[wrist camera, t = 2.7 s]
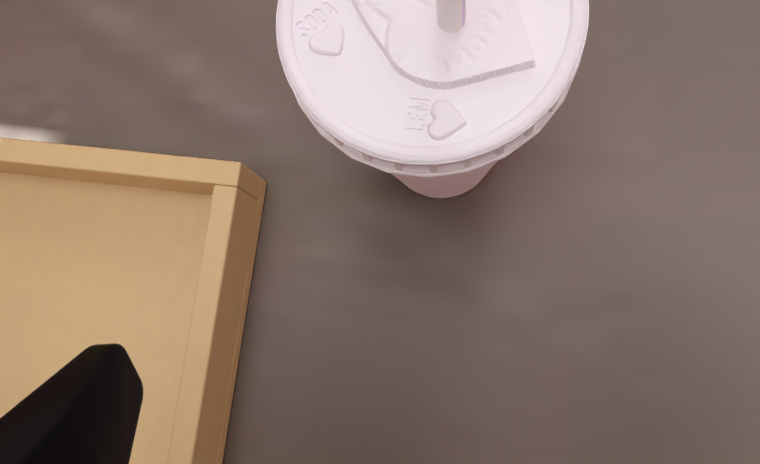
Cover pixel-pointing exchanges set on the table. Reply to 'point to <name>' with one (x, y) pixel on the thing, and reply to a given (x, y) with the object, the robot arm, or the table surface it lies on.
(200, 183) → the tray
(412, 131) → the smoothie
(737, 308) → the table surface
